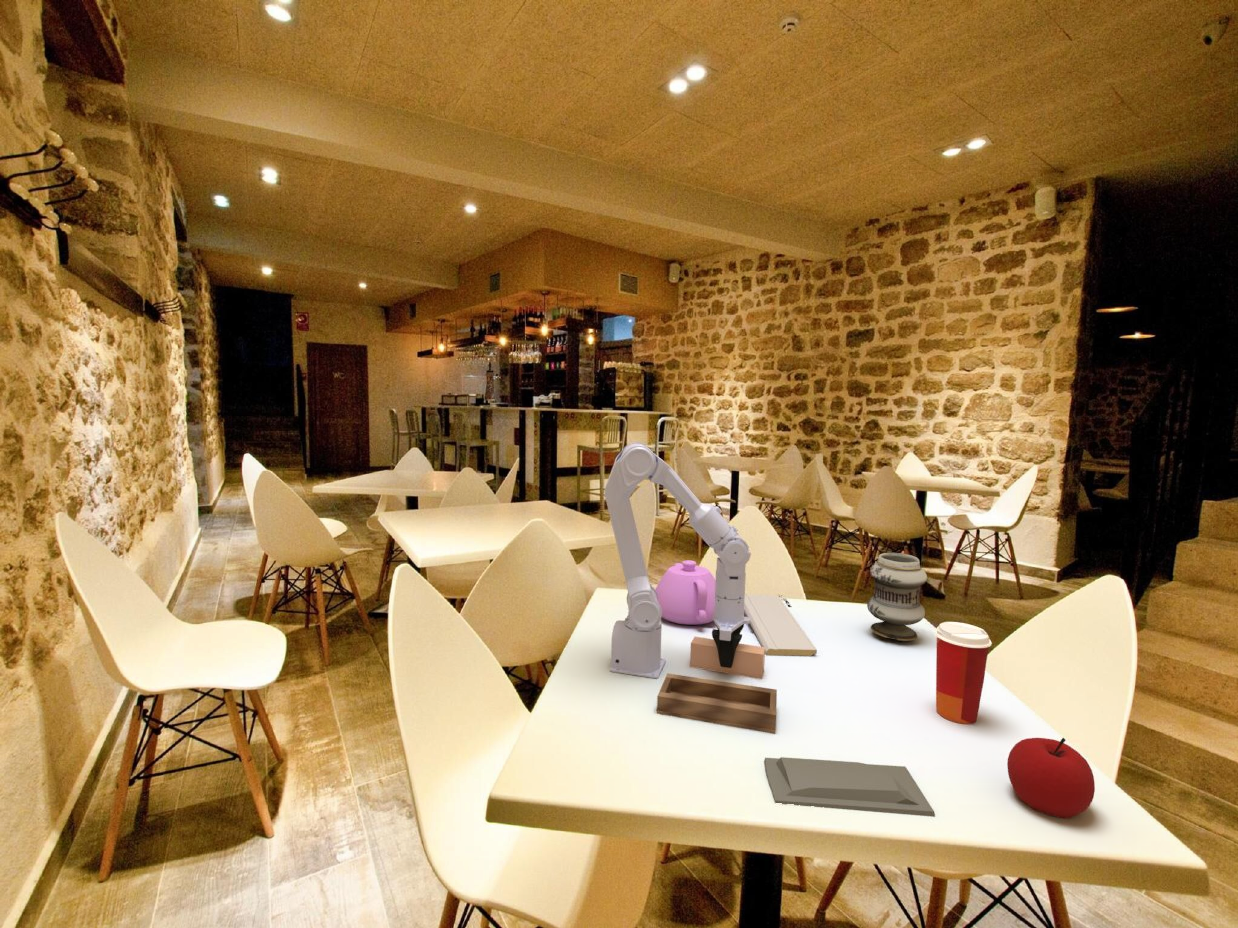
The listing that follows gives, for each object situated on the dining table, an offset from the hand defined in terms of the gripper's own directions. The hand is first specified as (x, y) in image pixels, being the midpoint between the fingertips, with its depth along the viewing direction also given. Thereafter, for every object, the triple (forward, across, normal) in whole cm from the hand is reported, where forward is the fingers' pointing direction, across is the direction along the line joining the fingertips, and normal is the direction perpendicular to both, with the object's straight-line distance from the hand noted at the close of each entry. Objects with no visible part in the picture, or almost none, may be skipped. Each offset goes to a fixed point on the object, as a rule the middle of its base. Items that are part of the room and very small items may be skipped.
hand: (727, 661), depth 112 cm
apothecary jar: (+2, +31, -36) cm, 47 cm away
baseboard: (+1, +27, -15) cm, 31 cm away
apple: (+2, -27, -44) cm, 52 cm away
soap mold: (+2, -32, -18) cm, 37 cm away
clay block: (+2, 0, 0) cm, 2 cm away
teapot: (+2, +27, +10) cm, 29 cm away
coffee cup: (+2, -5, -39) cm, 39 cm away
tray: (+1, -17, 0) cm, 17 cm away
